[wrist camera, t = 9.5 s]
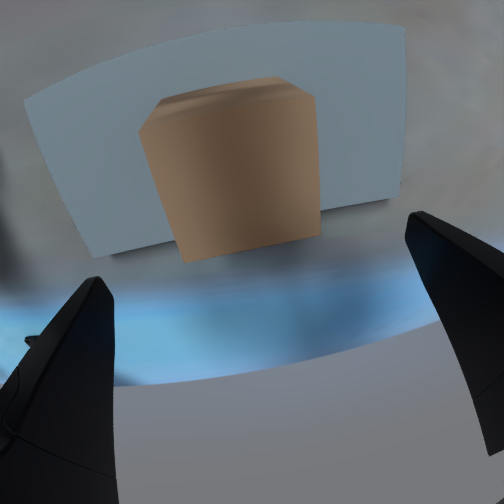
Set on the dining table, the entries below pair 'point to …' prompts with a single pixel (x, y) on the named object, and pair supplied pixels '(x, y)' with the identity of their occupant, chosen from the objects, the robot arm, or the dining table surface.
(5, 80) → the dining table surface
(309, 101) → the walnut cube
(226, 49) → the slate board
